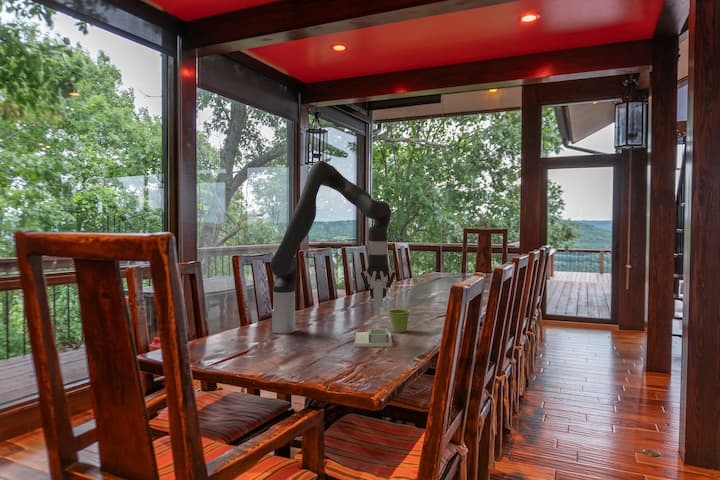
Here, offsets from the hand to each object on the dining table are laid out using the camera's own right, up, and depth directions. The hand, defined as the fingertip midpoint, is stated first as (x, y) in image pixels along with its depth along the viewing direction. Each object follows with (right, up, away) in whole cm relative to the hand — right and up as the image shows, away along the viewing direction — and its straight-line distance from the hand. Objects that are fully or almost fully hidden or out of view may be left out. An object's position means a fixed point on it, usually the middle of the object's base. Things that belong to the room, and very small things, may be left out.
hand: (378, 297), depth 176 cm
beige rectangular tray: (-2, -17, +3) cm, 18 cm away
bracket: (0, -3, 0) cm, 3 cm away
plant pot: (+10, -17, +19) cm, 27 cm away
